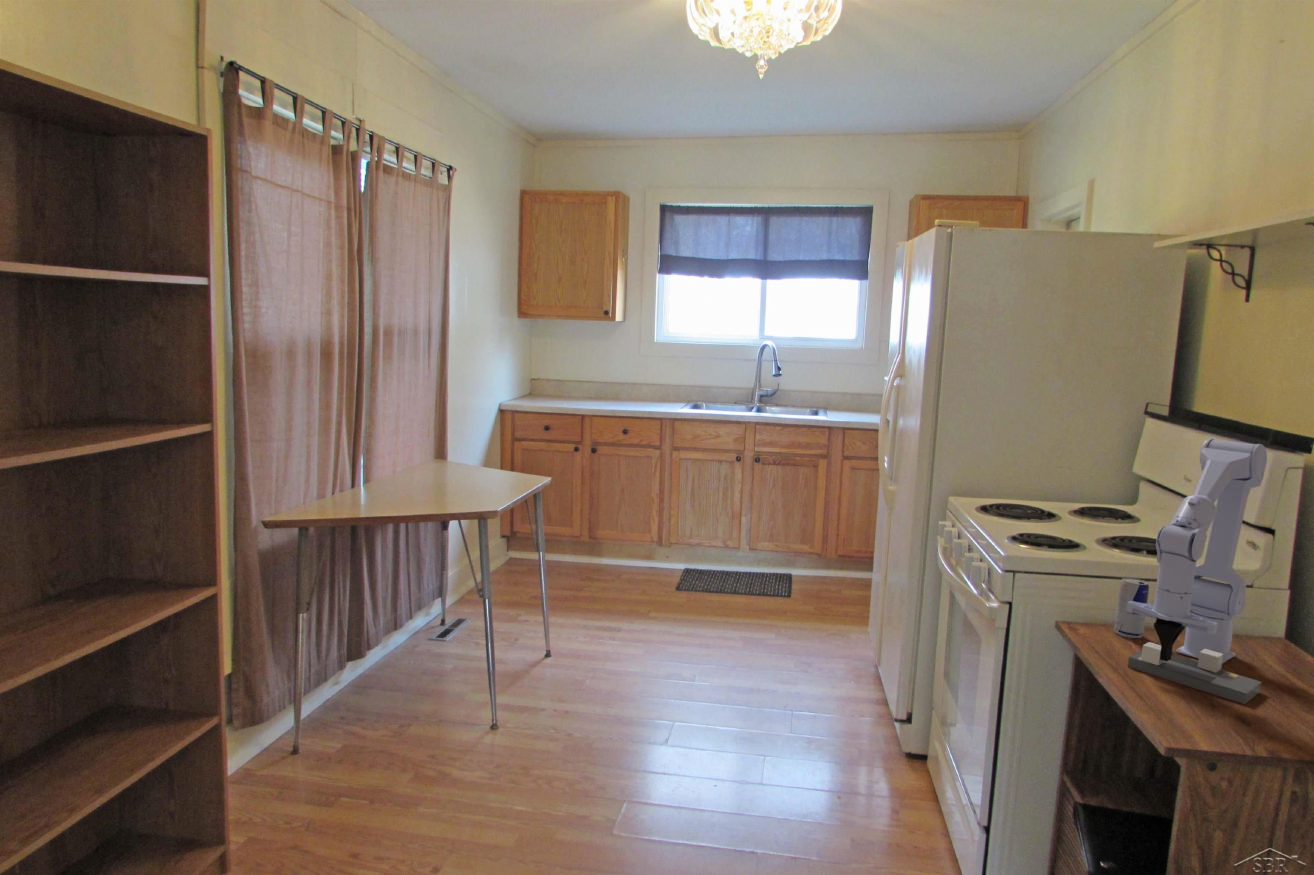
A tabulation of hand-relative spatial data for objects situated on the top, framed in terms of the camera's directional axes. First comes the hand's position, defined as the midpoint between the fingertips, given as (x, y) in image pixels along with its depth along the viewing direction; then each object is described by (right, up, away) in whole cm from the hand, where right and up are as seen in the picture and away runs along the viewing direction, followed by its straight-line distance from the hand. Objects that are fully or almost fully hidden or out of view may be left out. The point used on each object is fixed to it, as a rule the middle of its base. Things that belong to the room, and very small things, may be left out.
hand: (1164, 659), depth 152 cm
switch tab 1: (-1, -1, +2) cm, 2 cm away
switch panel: (+5, -4, -1) cm, 6 cm away
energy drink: (+6, -1, +22) cm, 23 cm away
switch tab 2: (+8, -2, 0) cm, 8 cm away
